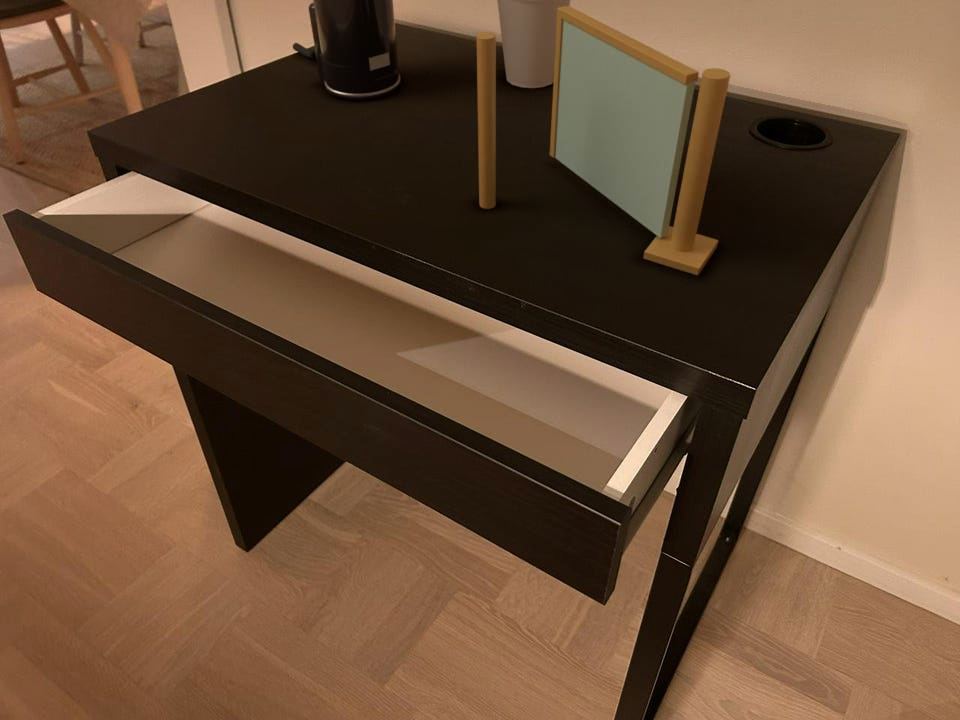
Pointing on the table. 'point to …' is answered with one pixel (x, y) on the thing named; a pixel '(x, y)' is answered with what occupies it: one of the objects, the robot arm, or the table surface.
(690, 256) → the hinge post
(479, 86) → the wooden dowel rod
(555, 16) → the foam cup
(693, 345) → the table surface
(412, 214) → the table surface
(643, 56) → the glass door
